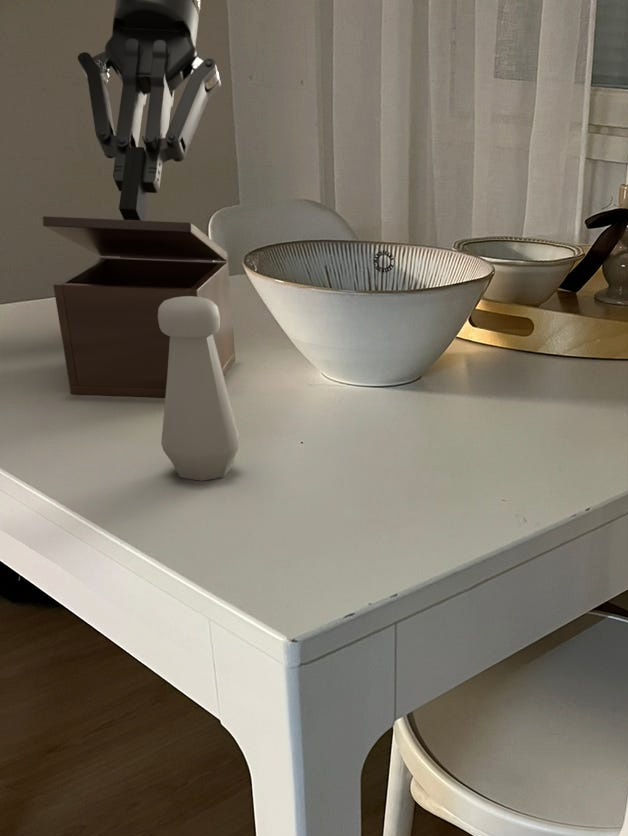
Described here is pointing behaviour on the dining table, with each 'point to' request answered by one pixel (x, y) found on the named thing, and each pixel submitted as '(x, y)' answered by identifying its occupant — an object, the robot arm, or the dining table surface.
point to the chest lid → (137, 238)
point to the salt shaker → (196, 392)
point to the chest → (133, 321)
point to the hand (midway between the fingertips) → (131, 218)
